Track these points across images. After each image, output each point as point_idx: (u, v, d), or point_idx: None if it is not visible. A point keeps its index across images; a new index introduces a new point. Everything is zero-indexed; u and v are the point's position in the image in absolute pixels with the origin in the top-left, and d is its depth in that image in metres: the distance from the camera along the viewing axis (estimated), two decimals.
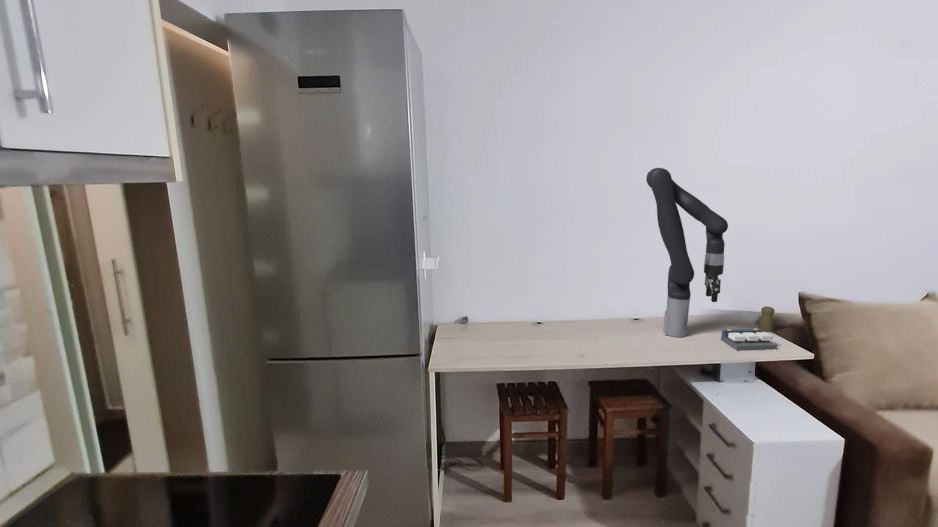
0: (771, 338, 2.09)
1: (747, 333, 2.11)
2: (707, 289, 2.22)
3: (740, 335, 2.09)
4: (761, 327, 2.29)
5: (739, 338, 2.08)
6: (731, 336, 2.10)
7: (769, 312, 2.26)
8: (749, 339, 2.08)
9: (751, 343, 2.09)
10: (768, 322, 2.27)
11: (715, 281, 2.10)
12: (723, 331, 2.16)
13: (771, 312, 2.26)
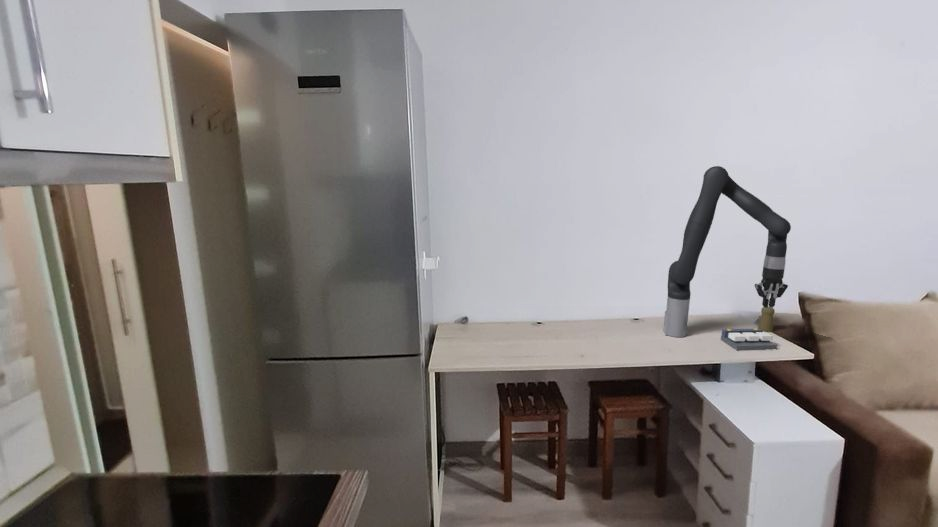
0: (771, 338, 2.09)
1: (747, 333, 2.11)
2: None
3: (740, 335, 2.09)
4: (761, 327, 2.29)
5: (739, 338, 2.08)
6: (731, 336, 2.10)
7: (769, 312, 2.26)
8: (749, 339, 2.08)
9: (751, 343, 2.09)
10: (768, 322, 2.27)
11: None
12: (723, 331, 2.16)
13: (771, 312, 2.26)
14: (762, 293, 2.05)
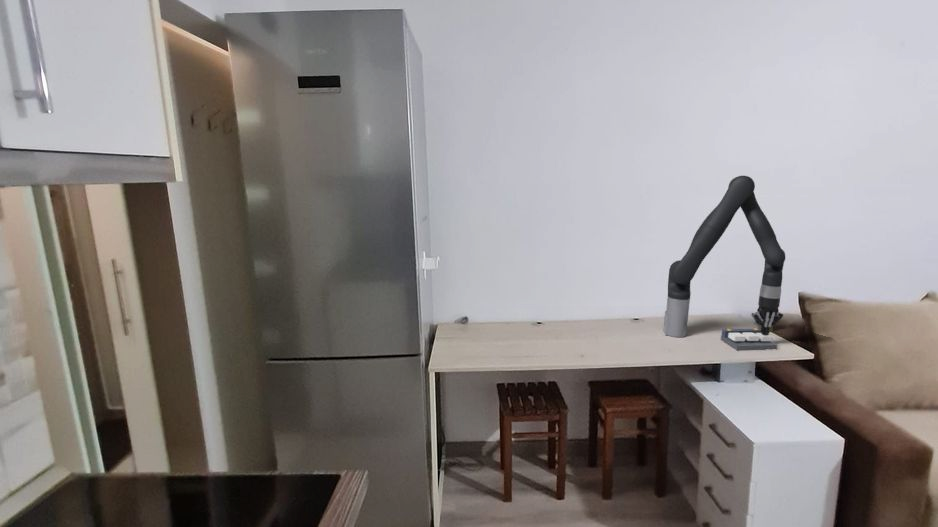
0: (771, 339, 2.09)
1: (747, 333, 2.11)
2: None
3: (740, 335, 2.09)
4: None
5: (739, 338, 2.08)
6: (731, 336, 2.10)
7: None
8: (749, 339, 2.08)
9: (751, 343, 2.09)
10: None
11: None
12: (723, 331, 2.16)
13: None
14: (760, 322, 2.08)
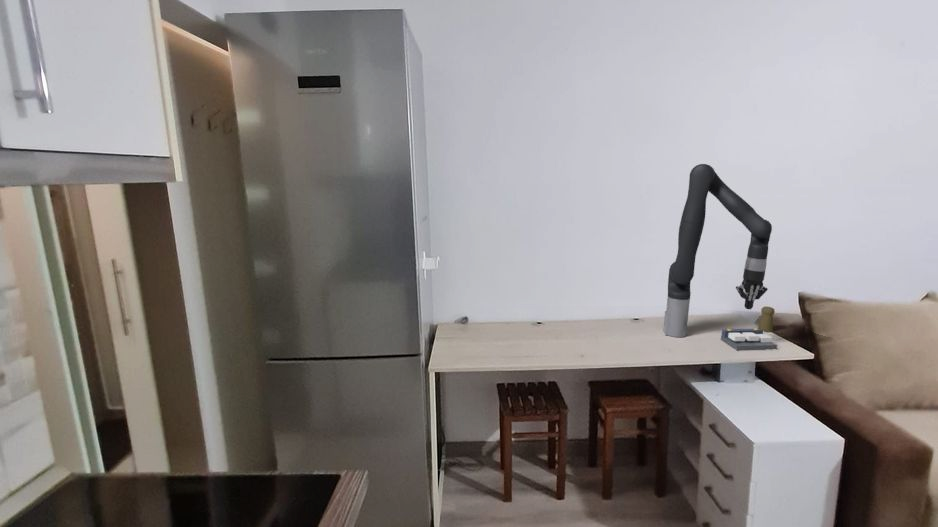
0: (771, 340, 2.09)
1: (747, 333, 2.11)
2: None
3: (740, 335, 2.09)
4: (761, 327, 2.29)
5: (739, 338, 2.08)
6: (731, 336, 2.10)
7: (769, 312, 2.26)
8: (749, 339, 2.08)
9: (751, 343, 2.09)
10: (768, 322, 2.27)
11: None
12: (723, 331, 2.16)
13: (771, 312, 2.26)
14: (744, 295, 2.05)
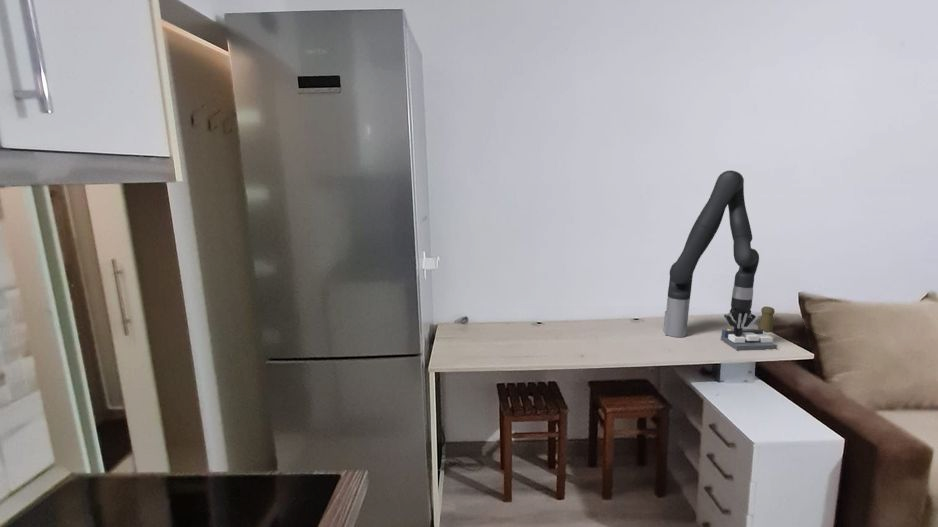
0: (771, 340, 2.09)
1: (747, 333, 2.11)
2: None
3: (740, 336, 2.09)
4: (761, 327, 2.29)
5: (739, 340, 2.08)
6: (730, 337, 2.10)
7: (769, 312, 2.26)
8: (749, 339, 2.08)
9: (751, 343, 2.09)
10: (768, 322, 2.27)
11: None
12: (723, 331, 2.16)
13: (771, 312, 2.26)
14: (732, 323, 2.07)
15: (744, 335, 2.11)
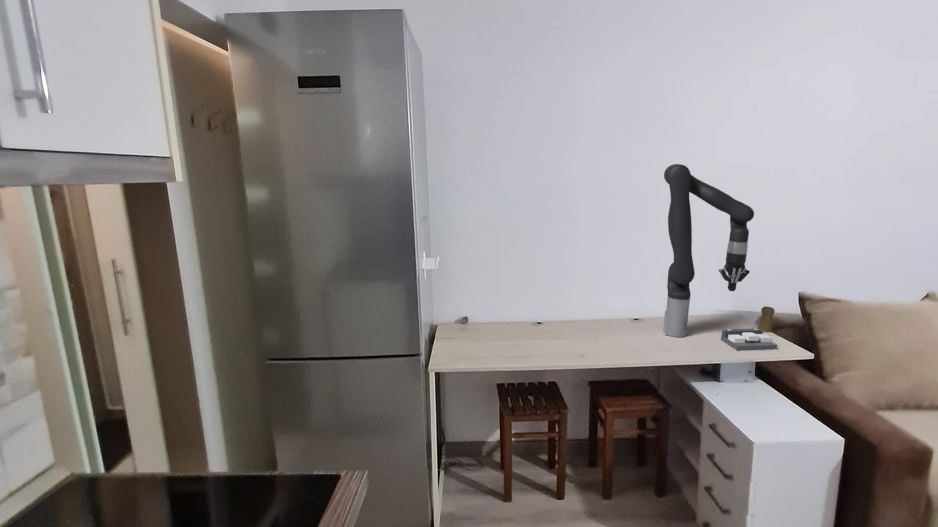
0: (771, 340, 2.09)
1: (747, 333, 2.11)
2: None
3: (740, 337, 2.09)
4: (761, 327, 2.29)
5: (739, 340, 2.08)
6: (730, 338, 2.11)
7: (769, 312, 2.26)
8: (749, 339, 2.08)
9: (751, 343, 2.09)
10: (768, 322, 2.27)
11: None
12: (723, 331, 2.16)
13: (771, 312, 2.26)
14: (727, 277, 2.14)
15: (744, 335, 2.11)
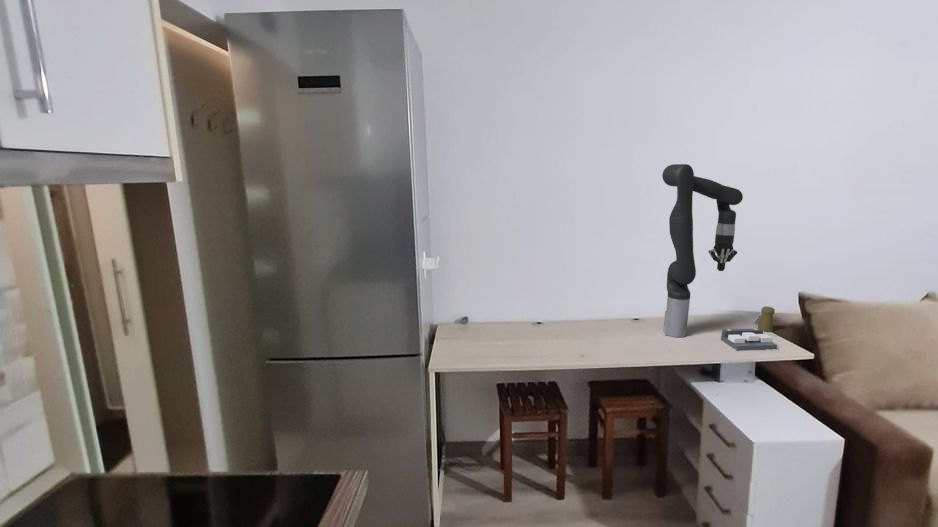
0: (771, 340, 2.09)
1: (747, 333, 2.11)
2: None
3: (740, 337, 2.09)
4: (761, 327, 2.29)
5: (739, 340, 2.08)
6: (730, 338, 2.11)
7: (769, 312, 2.26)
8: (749, 339, 2.08)
9: (751, 343, 2.09)
10: (768, 322, 2.27)
11: None
12: (723, 331, 2.16)
13: (771, 312, 2.26)
14: (716, 258, 2.26)
15: (744, 335, 2.11)
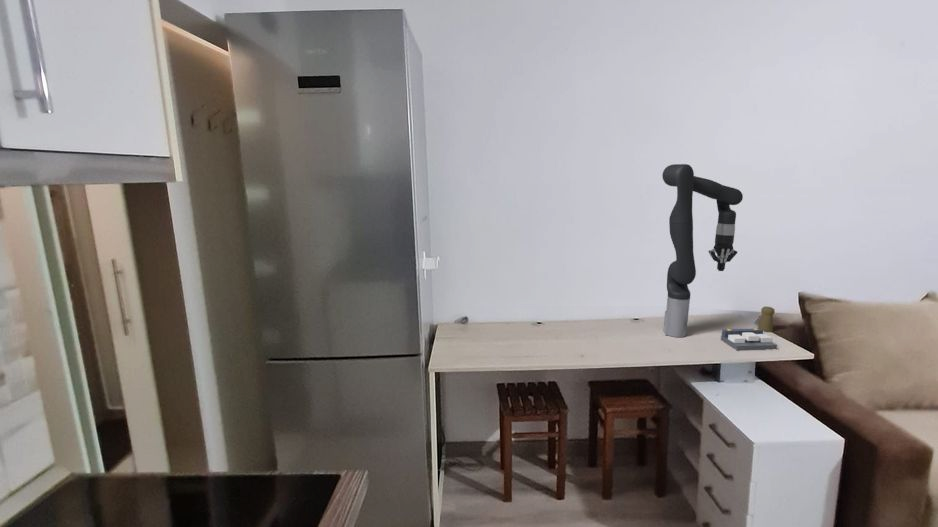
0: (771, 340, 2.09)
1: (747, 333, 2.11)
2: None
3: (740, 337, 2.09)
4: (761, 327, 2.29)
5: (739, 340, 2.08)
6: (730, 338, 2.11)
7: (769, 312, 2.26)
8: (749, 339, 2.08)
9: (751, 343, 2.09)
10: (768, 322, 2.27)
11: None
12: (723, 331, 2.16)
13: (771, 312, 2.26)
14: (716, 258, 2.26)
15: (744, 335, 2.11)
